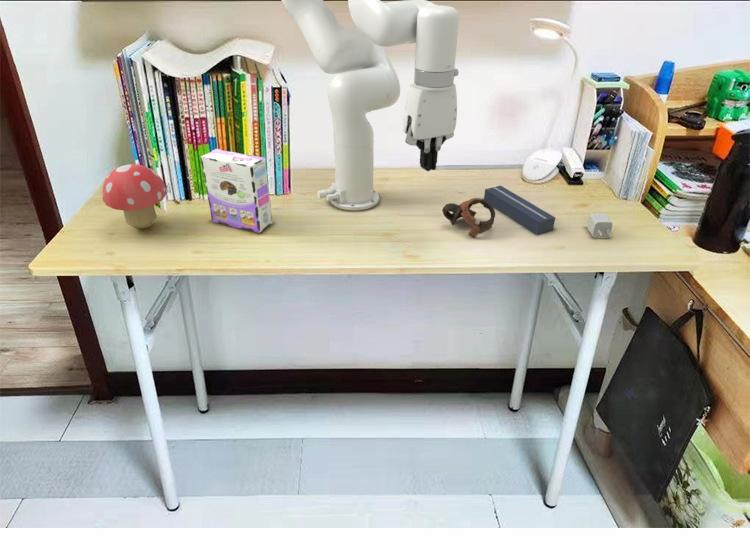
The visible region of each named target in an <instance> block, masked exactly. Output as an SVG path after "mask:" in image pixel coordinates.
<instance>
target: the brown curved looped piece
mask: <svg viewBox="0 0 750 552" xmlns="http://www.w3.org/2000/svg"><path fill="white" fill-rule="evenodd" d="M478 204H480V205H482V206H483V208H485V209H487V210H488V211H489V214H490V217H489V218H488V219H487V220H480V221H479V223H475V222H476V218H475V216H476V214H477V211H474V210H472V209H471V208H472V207H473V206H474V205H478ZM441 211H442V214H443V216H444V217H445V219H446V220H448V221H450V223H451V225H452V226H455V223H456V221H457V220H459V219H460V218H463V220H464V221H465V222H466V223H467V225H469V227H471V229H470V231H469V232H468V236H469V237H472V238H475V237H477V236H478V235H481V234H484V233H485V232H487V231H489V230H490V229H492V226H493V225H494V223H495V218H496V210H495V207H493V206H492V205H491V204H490V203H489V202H488V201H486V200H484V198H480V197H474V198H473V197H472V198H470V199H469V200H465V201H463V202H462V203H460V204H456V203H446V204H445V205H444V206H443V207H442V209H441Z"/></svg>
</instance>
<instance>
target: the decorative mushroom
mask: <svg viewBox="0 0 750 552" xmlns="http://www.w3.org/2000/svg"><path fill="white" fill-rule="evenodd" d="M167 192H168V191H167V187H166V184H165V182H164V180H163V179H162V178H161V176H160V175H159V174H158V173H157V172H156V171H154V170H153V169H152V168H150V167H147V166H145V165H142V164H133V163H132V164H131V163H129V164H124V165H121V166H119V167H117V168H115V169H114V170H112V171H111V172H110V173H109V174H108V175H107V177H105V179H104V182H103V185H102V191H101V194H102V196H101V197H102V202H103V203H104V204H105V205H106V206H107V207H109V208H111V209H113V210H118V211H123V215H124V220H125V224H127V225H129V226H130V227H132V228H135V229H139V230H145V229H147V228H149V227H150V226H152V225H153V224H154V223H155V221H156V220H157V218H158V217H157V213H156V209H155V205H158V204H159V203H160V202H161V201H163V200H164V199H165V197H166V196H167Z"/></svg>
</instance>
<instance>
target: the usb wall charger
mask: <svg viewBox="0 0 750 552" xmlns="http://www.w3.org/2000/svg"><path fill="white" fill-rule="evenodd" d="M613 227H614V224H613V222H612V221H611V219H610V218H609V216H608V215H607V214H606V213H603V212H602V213H601V212H600V213H598V212H597V213H596V212H595V213H594V212H593V213H590V214H589V215H588V219H587V222H586V228H587V230H588V232H589V233H590V234H591V237H593V238H595V239H605V238H606V239H607V238H611V237H612V230H613Z"/></svg>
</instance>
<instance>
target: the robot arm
mask: <svg viewBox="0 0 750 552" xmlns="http://www.w3.org/2000/svg"><path fill="white" fill-rule="evenodd" d="M280 1H281V3H282V5H283V7H285V9H286V11H287V12H288V13H289V15H290V16H291V18H292V19H293V21H294V22H295V23H296V25H297V26H298V28H299V30H300V32H301V34H302V36H303V38H304V40H305V42H306V44H307V46H308V49H310V52H311V54H312V55H313V58H314V60H315V61H316V63H317V65H318V66H319V68H320V70H321V71H322V72H323V73H325V74H329V75H330V74H331V75H335V74H337V75H335V76H334V77H333V78H332V79H331V80H330V82H329V84H328V87H327V98H328V102H329V108H330V112H331V118H332V130H333V153H334V182H331V187H328V188H327V189H321V190H317V191H316V195H317V198H318V199H326V201H328V202H330V204H331V205H332V206H334V207H335V208H338V209H341V210H344V211H352V212H353V211H354V212H355V211H364V210H365V211H366V210H368V209H371V208H373V207H375V206H376V205H377V204H378V203H379V202H380V194H379V192H377V190H375V189H374V157H375V156H374V153H375V152H374V151H375V149H374V148H375V147H374V143H375V140H374V137H375V136H374V129H373V126H372V125H371V123H370V121H369V120H368V118H367V116H366V114H367V113H371V112H374V111H378V110H382V109H385V108H389V107H392V106H393V105H395V104H396V103H397V102H398V100H399V98H400V96H401V84H400V80H399V77H398V75H397V73H396V70H395V68H394V66H393V64H392V63H391V60H390V58H389V56H388V55H387V52H386V50H385V48H389V47H396V46H401V45H408V44H410V45H411V44H415V53H414V55H415V56H414V73H413V75H414V77H413V83H411V84H410V85H409V88H408V92H407V95H406V101H405V106H404V114H403V126H402V127H403V128H402V129H403V133H404V134H406V137H405V140H404V142H405V144H407V145H409V146H413V147H414V146H415V147H417V149H419V165H420V166H419V167H420V168H422V169H423V170H424V171H426V172H431V170H432V171H436V170H437V163H438V154H439V153H438V152H439V151H441V149H442V145H443V144H444V143H445V142H446V141H447V140H450V139H452V138H454V136H455V130H456V128H457V119H458V95H457V94H458V93H457V87H456V83H454V81H455V77H458V75H459V69H458V68H456V58H457V56H456V55H457V46H458V45H457V44H458V32H459V20H460V16H459V15H460V14H459V11H458V9H456V8H455V7H453V6H450V5H443V4H442V5H441V4H436V3H434V2H431V1H429V0H395V1H387V2H384V1H382V0H347V4H348V11H349V14H350V17H351V20H352V22H353V24H354V26H347V27H345V26H342V25H341V24H340V23H339V21H338V19H337V17H336V16H335V13H334V12H333V10H332V8H331V7H330V6H329V4H327V2H325V1H324V0H280Z"/></svg>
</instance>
